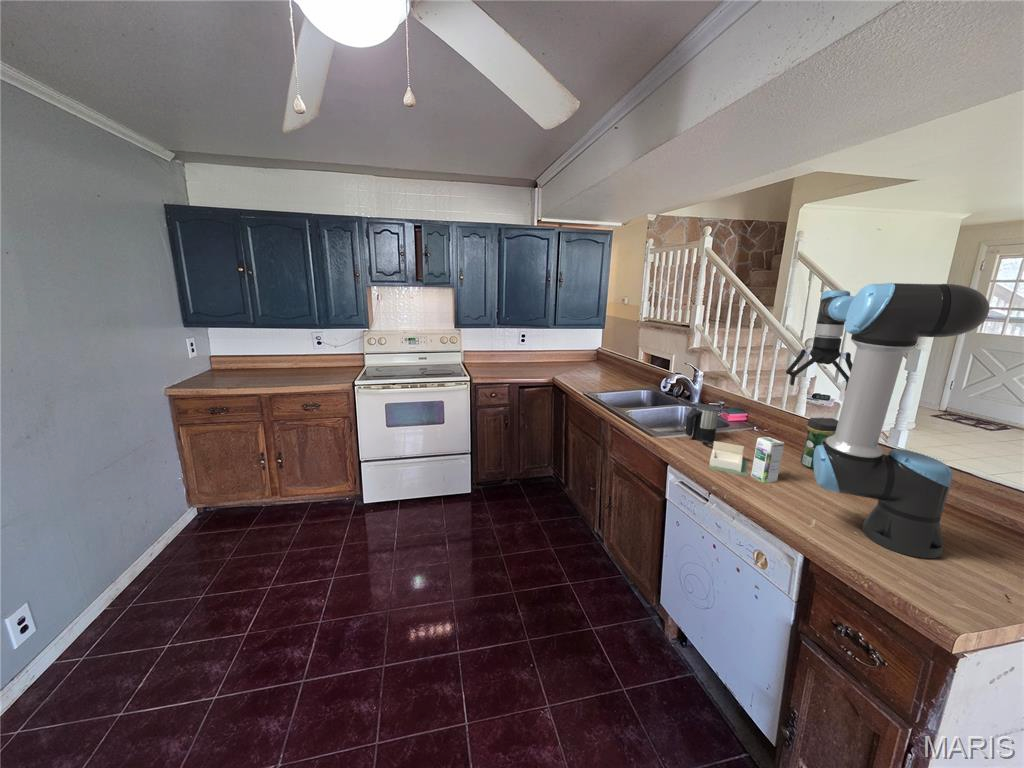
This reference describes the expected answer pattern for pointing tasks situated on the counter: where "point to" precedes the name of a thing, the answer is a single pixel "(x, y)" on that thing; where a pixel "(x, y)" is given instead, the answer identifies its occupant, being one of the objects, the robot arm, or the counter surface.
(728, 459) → the cream hollow box
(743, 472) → the board
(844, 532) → the counter surface
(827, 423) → the coffee jar
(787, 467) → the counter surface
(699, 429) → the milk frother
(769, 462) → the syrup box
